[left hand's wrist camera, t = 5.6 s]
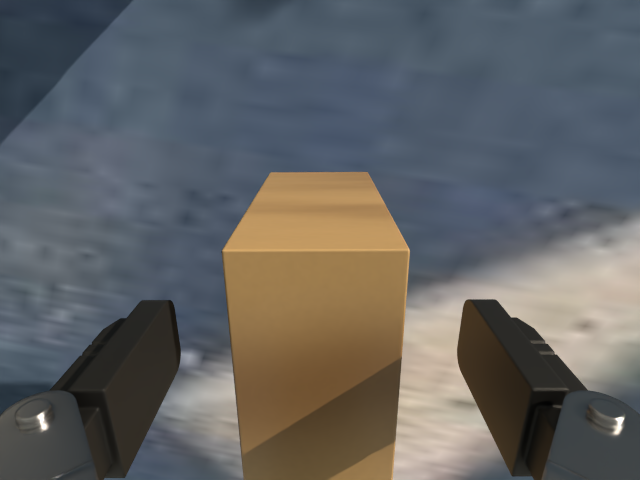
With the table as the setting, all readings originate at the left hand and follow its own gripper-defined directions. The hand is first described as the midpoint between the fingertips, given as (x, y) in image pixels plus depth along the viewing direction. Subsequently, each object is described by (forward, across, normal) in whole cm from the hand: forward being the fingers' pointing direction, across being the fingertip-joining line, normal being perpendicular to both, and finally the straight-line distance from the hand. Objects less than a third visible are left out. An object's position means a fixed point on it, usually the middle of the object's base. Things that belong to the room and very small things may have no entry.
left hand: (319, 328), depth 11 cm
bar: (+8, 0, -10) cm, 13 cm away
